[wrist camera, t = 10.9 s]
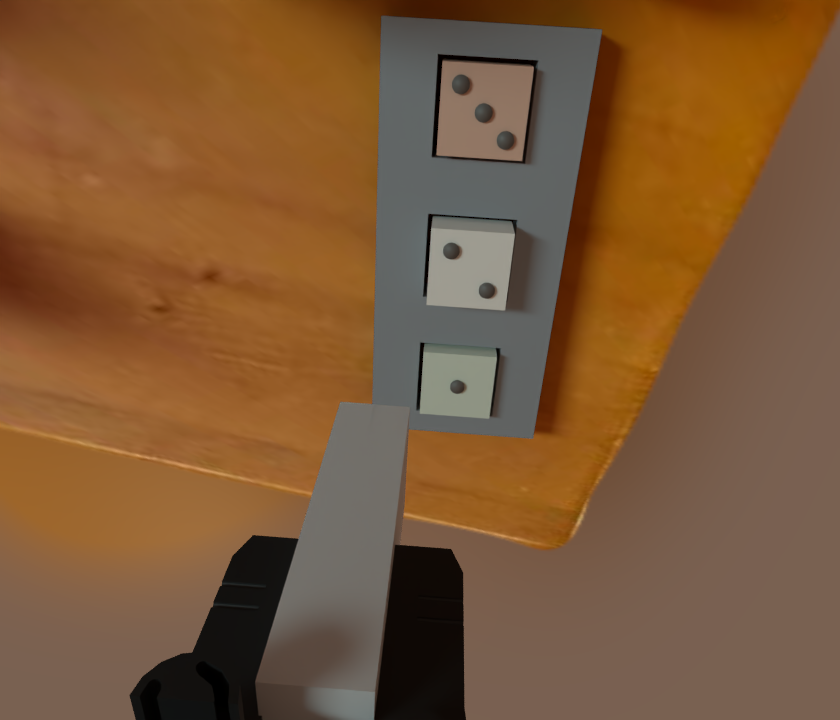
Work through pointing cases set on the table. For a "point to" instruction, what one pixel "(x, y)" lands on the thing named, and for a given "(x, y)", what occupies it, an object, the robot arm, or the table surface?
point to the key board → (475, 210)
